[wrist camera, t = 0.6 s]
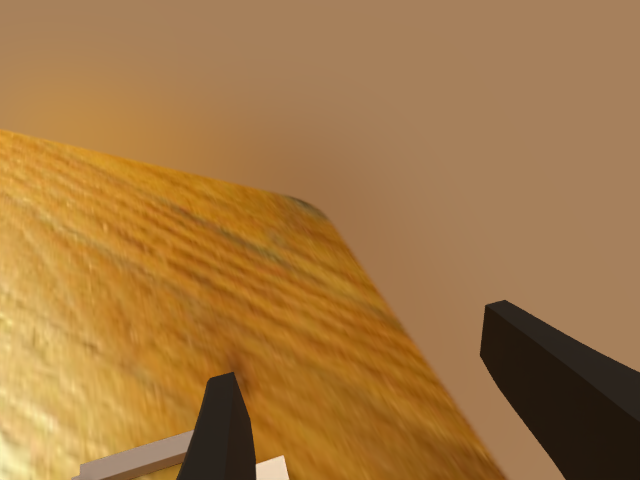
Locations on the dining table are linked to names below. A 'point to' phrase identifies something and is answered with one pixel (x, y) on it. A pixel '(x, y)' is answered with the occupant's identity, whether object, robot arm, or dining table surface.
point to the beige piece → (161, 462)
